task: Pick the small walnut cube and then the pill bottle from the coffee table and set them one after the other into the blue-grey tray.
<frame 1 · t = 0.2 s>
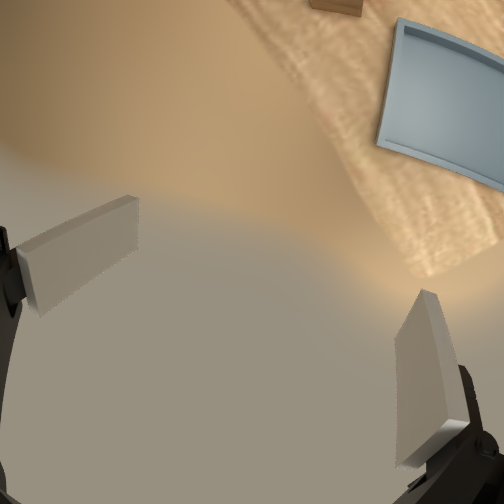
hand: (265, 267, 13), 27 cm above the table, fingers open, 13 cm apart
blue-grey tray: (467, 111, 28), on the table
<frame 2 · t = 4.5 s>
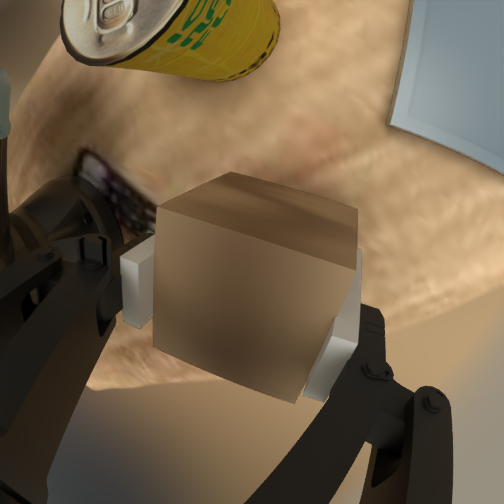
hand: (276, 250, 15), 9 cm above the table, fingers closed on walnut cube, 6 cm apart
beverage can: (224, 30, 20), on the table
walnut cube: (277, 247, 15), point 9 cm above the table, touching gripper
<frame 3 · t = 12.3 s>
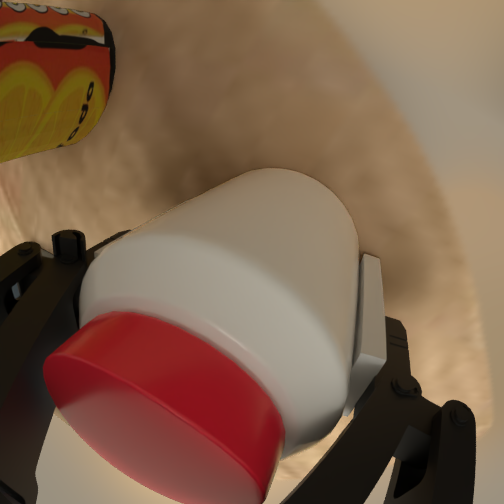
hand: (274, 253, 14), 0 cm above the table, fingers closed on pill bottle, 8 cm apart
beverage can: (68, 78, 15), on the table
pill bottle: (277, 248, 15), on the table, touching gripper
when the fingers open (4 cm above the table, at t = 17.3 s): pill bottle drops 3 cm, resting on blue-grey tray.
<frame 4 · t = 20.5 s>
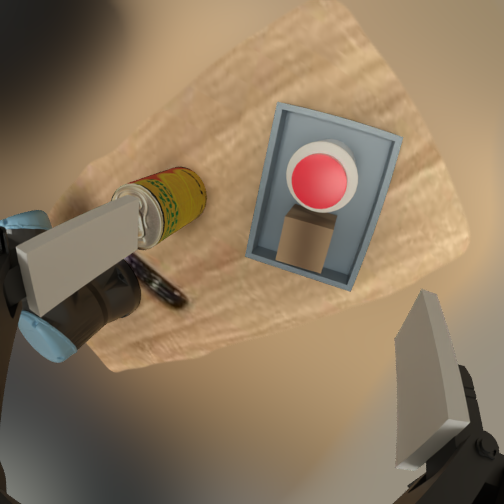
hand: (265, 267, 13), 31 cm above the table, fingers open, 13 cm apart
beverage can: (182, 194, 49), on the table
walnut cube: (310, 229, 43), point 1 cm above the table, touching blue-grey tray
blue-grey tray: (322, 194, 42), on the table
pill bottle: (328, 167, 39), point 1 cm above the table, touching blue-grey tray
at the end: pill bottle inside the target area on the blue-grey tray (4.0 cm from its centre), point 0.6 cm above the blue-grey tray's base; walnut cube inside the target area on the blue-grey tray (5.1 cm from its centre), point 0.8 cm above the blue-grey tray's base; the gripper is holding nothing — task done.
